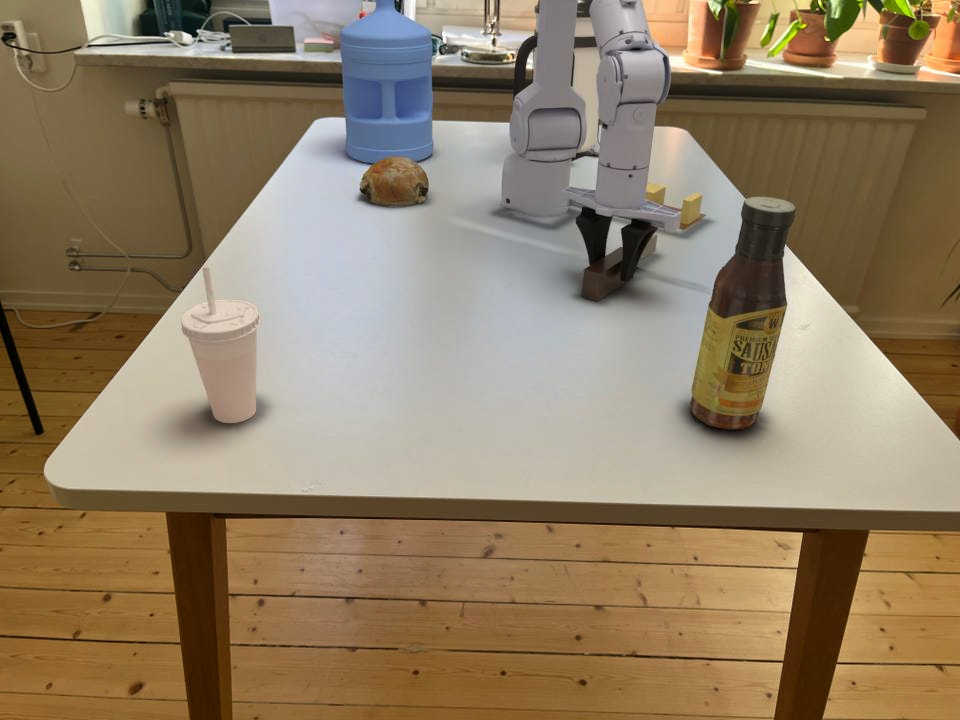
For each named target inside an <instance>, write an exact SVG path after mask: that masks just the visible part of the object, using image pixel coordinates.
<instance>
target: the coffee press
mask: <svg viewBox="0 0 960 720" xmlns="http://www.w3.org/2000/svg"><path fill="white" fill-rule="evenodd" d="M592 2H593V0H578V4H577V16H576V28H575V39H574V51H573V63H572V74H571V86H572V87H573V88H574V89H575V90H576V91H578V92H579V93H580V94H581V95H582V97H583V98H584V100H585V102H586V121H587V135H586V140H585V143H584V144H583V146H582V148H581V149H580V150H579V151H576V154H580V153H584V152H588V151H589V150H590V151H591V152H593V153H594V155H595V156H597V157H599V152H598V153H597V152H596V150H595V149H594V147H595V145H596V143H597V142H598V146H600V140H599V136H600V135H599V134H600V122H601V120H600V119H599V114H598V106H599V100H598V93H597V85H596V77H597V73H598V68H599V65H600V62H601V60H600V56H599V52H598V47H597V43H596V39H595V34H594V30H593V26H592V22H591V18H590V13H589V10H590V6H591V3H592ZM533 10H534V14H535V19H536V20H535V29H534V31H533V35H531V36H529V37H528V38H526V39H525V40H524V41H523V42H521V45H520V46H519V48H518V51H517V54H516V57H515V63H514V72H513V73H514V74H513V95H512V104H513V103H514V100H515V96H516V95H517V94H518V93H520V92H521V91H523V90H524V89H525V88H526V79H527V78H526V76H527V65H528V64H527V63H528V59H529V58H530V54H531V52H532V65H533V68H532V69H531V70H532V71H531V72H532V73H531V84H532V83H533V82H534V81H535V73H536V57H537V42H538V26H539V10H540V0H538V1H537V4H536V5H534V9H533Z"/></svg>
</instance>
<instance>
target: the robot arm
mask: <svg viewBox="0 0 960 720" xmlns="http://www.w3.org/2000/svg"><path fill="white" fill-rule="evenodd" d="M577 4H578V0H540V10H539V26H538V42H537V57H536V73H535V81H534V82H533V83H532V82H531V84H529V85H528V86H526V87H525V89H524V90H523V91H521V92H520V93H518V94H517V95H516V96H515V100H514V103H513V102H512V112H511V114H510V119H509V127H508V128H509V129H508V130H509V131H508V132H509V142H510V144H511V147H512V150H511V151H510V152H509V153H508V154H507V155H506V157H505V159H504V162H503V165H502V170H501V194H500V195H501V196H500V197H501V198H500V206H501V207H503V208H506V209H510V210H514V211H518V212H520V213H523V214H524V215H528V216H531V217H537V218H539V217H540V218H553V217H559V216H562V215H565V214H566V213H568V208H570V207H574V208H578V209H581V211H580V213H579V215H577V216H576V217H575V224H576V226H577V228H578V230H579V232H580V234H581V237H582V239H583V242H584V245H585V249H586V253H587V259H588V263H589V264H588V266H590V265H592V264H593V263H595V262H597V261H598V260H600V259H601V258H603V257H605V256H606V255H607V242H608V237H609V232H610V227H611V224H612V220H613V217H615V218H618V219H623V220H626V221H630V223H628V224H627V225H624V226H622V227H621V228H620V235H621V245H622V246H621V247H622V248H623V256H622V264H621V272H620V281H623V282H625V283H627V282H628V281H630V280H632V279H633V278H634V275H635V272H636V267H638V265H639V261H640V260H639V259H640V257H641V255H642V253H643V251H644V249H645V247H646V246H647V244H648V242H649V241H650V239H651V238H652V236H654V235H655V234H656V232H657V231H658V230H659V229H663V231H664V232H666V233H671V234H673V233H674V232H676V231H678V230H680V229H679V227H680V220H681V214H682V212H679V211H675V210H672V209H669V208H666V207H664V206H661V205H659V204H656V203H654V202H651V201H649V200H646V199H645V197H646V189H647V183H648V180H649V174H650V173H649V172H650V164H651V156H652V149H653V139H654V132H655V131H654V130H655V124H656V115H657V107H658V106H660V105H661V104H663V103H664V102H665V100H666V99H667V97H668V95H669V90H670V88H671V82H672V68H671V62H670V56H669V54H668V52H667V51H666V50H665V49H664V48H663V47H662V46H660V43H659V41H658V40H656V39H655V40H654V39H652V35H651V31H650V27H649V22H648V21H647V20H648V19H647V16H646V11H645V8H644V7H645V6H644V4H643V0H593V2H592V3H591V6H590V10H589V13H590V18H591V22H592V26H593V30H594V34H595V39H596V43H597V47H598V52H599V56H600V60H601V62H600V65H599V68H598V73H597V77H596V85H597V93H598V100H599V106H598V114H599V119H600V122H601V129H600V137H599V138H600V139H599V143H600V145H599V147H598V154H599V156H598V158H597V159H598V161H597V168H596V169H597V171H596V182H595V189H589V188H580V187H576V186H575V187H574V186H570V181H571V169H572V168H571V167H572V158H576V157H577V153H576V151H579V150H580V149H581V148H582V146H583V144H584V143H585V140H586V135H587V121H586V102H585V100H584V98H583V97H582V95H581V94H580V93H579V92H578V91H576V90H575V89H574V88H573V87H572V86H571V74H572V63H573V51H574V39H575V28H576V16H577ZM599 119H598V120H599Z"/></svg>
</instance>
